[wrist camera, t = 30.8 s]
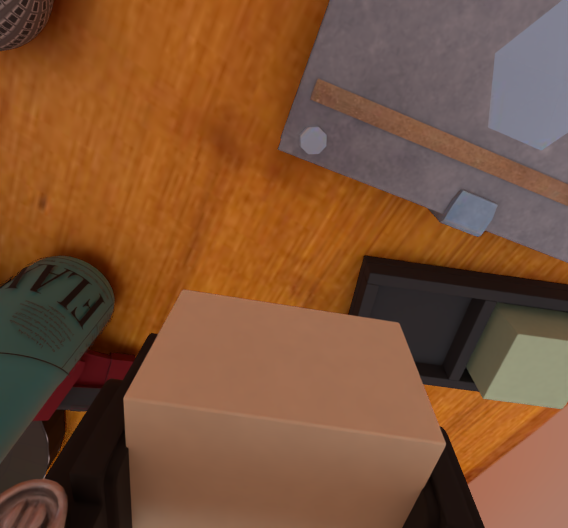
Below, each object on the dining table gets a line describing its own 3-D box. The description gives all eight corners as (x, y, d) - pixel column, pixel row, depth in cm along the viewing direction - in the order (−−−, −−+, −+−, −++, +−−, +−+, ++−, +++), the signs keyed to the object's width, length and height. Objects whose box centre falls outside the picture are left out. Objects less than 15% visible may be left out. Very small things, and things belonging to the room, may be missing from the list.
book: (809, -29, 18) (972, -59, 14) (571, 257, 26) (627, 297, 21) (419, -253, 15) (468, -380, 11) (278, 142, 23) (274, 161, 18)
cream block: (182, 288, 10) (122, 397, 6) (399, 322, 10) (448, 444, 7) (176, 437, 12) (131, 570, 9) (349, 462, 12) (366, 600, 9)
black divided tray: (338, 351, 30) (341, 373, 28) (364, 255, 26) (370, 272, 24) (538, 378, 31) (556, 402, 28) (594, 288, 27) (620, 308, 24)
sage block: (491, 301, 26) (518, 334, 23) (570, 312, 26) (606, 346, 23) (462, 361, 29) (482, 399, 26) (533, 371, 29) (562, 409, 26)
